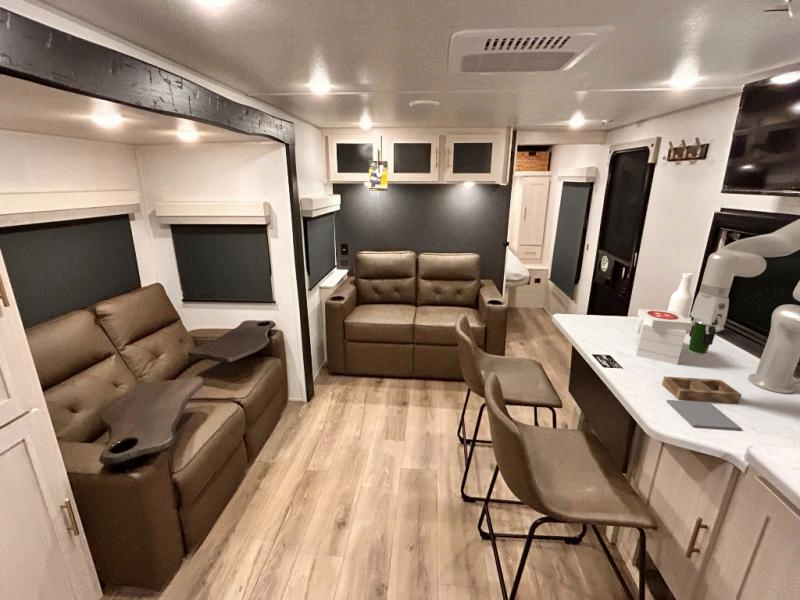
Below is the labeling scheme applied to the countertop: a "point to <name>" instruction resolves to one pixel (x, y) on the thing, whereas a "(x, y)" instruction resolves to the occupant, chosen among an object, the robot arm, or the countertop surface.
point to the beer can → (698, 338)
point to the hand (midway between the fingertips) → (700, 340)
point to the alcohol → (682, 297)
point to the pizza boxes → (661, 335)
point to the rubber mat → (703, 415)
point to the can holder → (701, 389)
